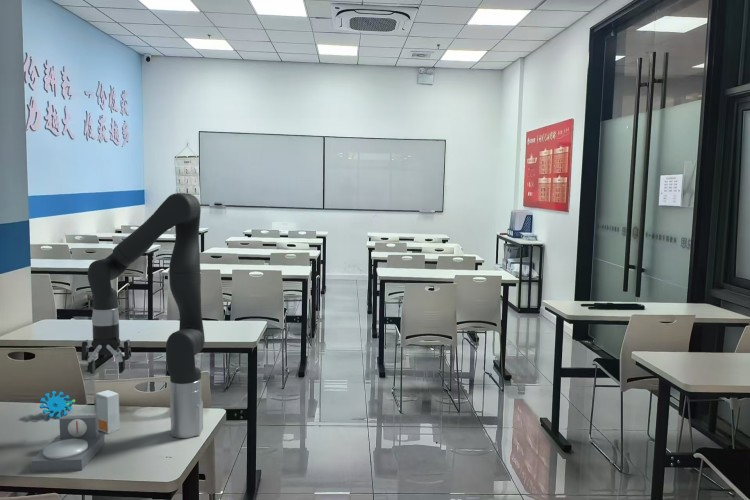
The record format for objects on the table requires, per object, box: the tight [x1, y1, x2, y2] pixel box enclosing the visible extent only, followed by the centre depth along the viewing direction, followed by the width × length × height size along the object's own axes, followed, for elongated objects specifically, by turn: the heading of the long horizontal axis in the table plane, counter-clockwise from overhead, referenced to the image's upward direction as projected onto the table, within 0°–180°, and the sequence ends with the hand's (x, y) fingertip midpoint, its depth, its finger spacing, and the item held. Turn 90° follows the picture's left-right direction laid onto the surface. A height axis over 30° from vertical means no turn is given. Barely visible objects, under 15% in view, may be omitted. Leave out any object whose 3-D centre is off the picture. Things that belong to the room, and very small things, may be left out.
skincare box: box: [95, 389, 121, 435], centre depth 182 cm, size 6×4×12 cm
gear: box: [39, 390, 76, 419], centre depth 194 cm, size 11×6×10 cm
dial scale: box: [30, 414, 106, 473], centre depth 162 cm, size 13×17×9 cm
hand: (106, 372), depth 181 cm, fingers open, 8 cm apart
